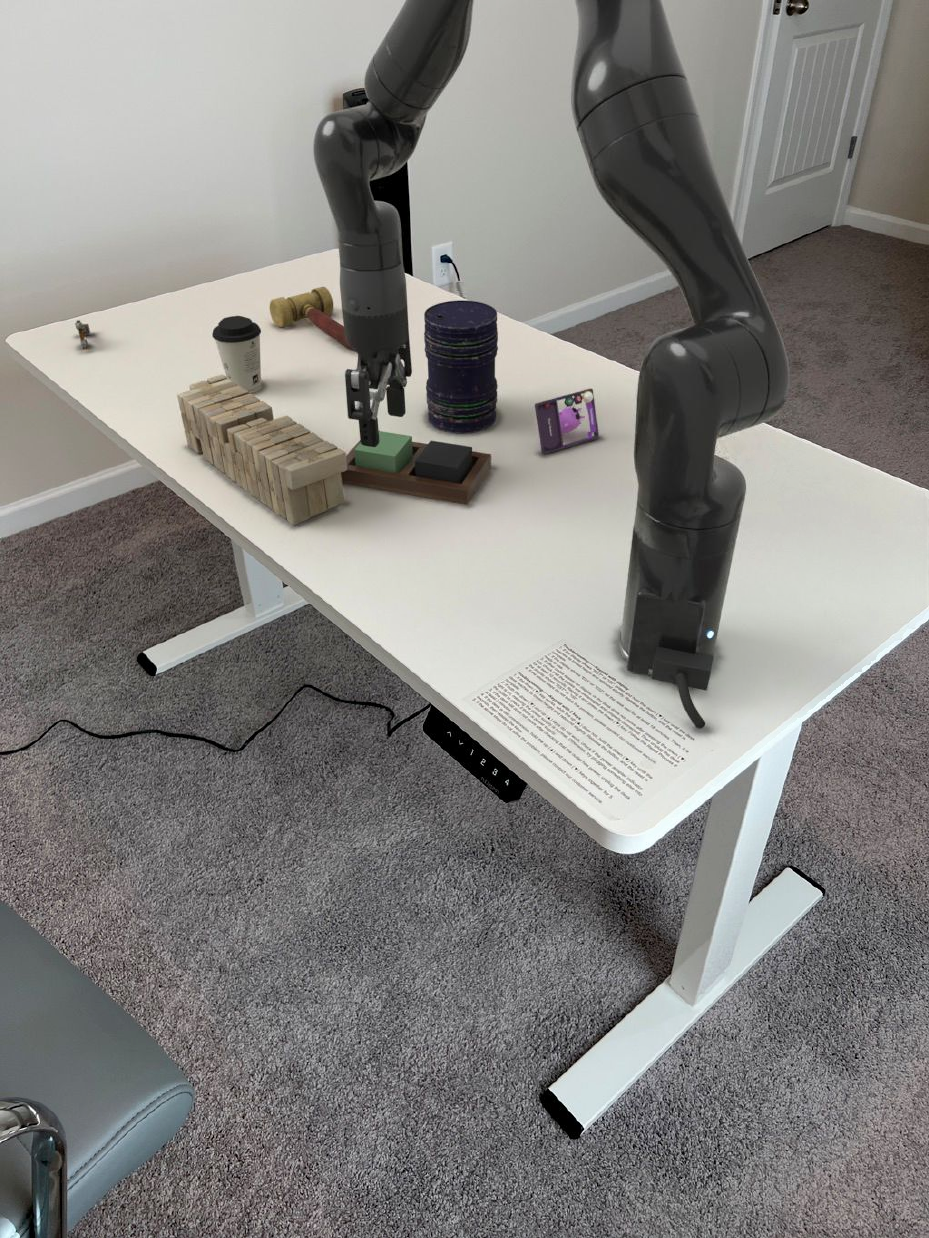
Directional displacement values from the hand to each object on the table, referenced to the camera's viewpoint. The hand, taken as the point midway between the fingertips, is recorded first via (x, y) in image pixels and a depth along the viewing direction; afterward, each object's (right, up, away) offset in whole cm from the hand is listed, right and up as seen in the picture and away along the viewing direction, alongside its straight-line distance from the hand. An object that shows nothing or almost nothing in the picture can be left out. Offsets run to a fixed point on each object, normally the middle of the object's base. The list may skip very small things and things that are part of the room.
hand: (384, 429), depth 120 cm
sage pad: (0, -4, +4) cm, 5 cm away
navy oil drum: (+10, +5, +16) cm, 19 cm away
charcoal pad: (+7, -6, +2) cm, 10 cm away
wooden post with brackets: (-52, +22, +38) cm, 68 cm away
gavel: (-13, +23, +39) cm, 48 cm away
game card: (+23, 0, +10) cm, 25 cm away
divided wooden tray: (+4, -5, +3) cm, 7 cm away
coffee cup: (-23, +11, +24) cm, 35 cm away
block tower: (-16, -5, +4) cm, 17 cm away
